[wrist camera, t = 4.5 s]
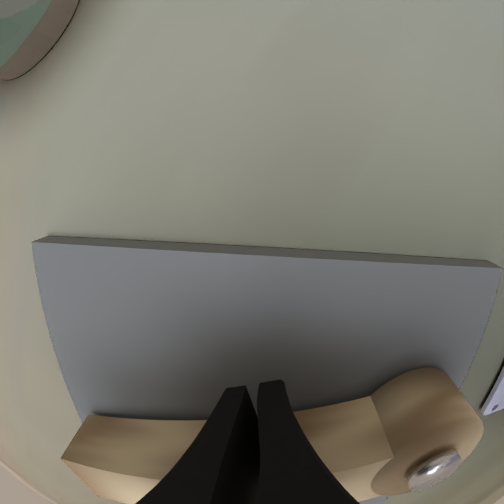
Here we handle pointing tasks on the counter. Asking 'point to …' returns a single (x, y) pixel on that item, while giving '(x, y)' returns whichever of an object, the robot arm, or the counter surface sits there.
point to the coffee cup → (30, 32)
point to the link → (315, 429)
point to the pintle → (433, 470)
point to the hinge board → (250, 322)
